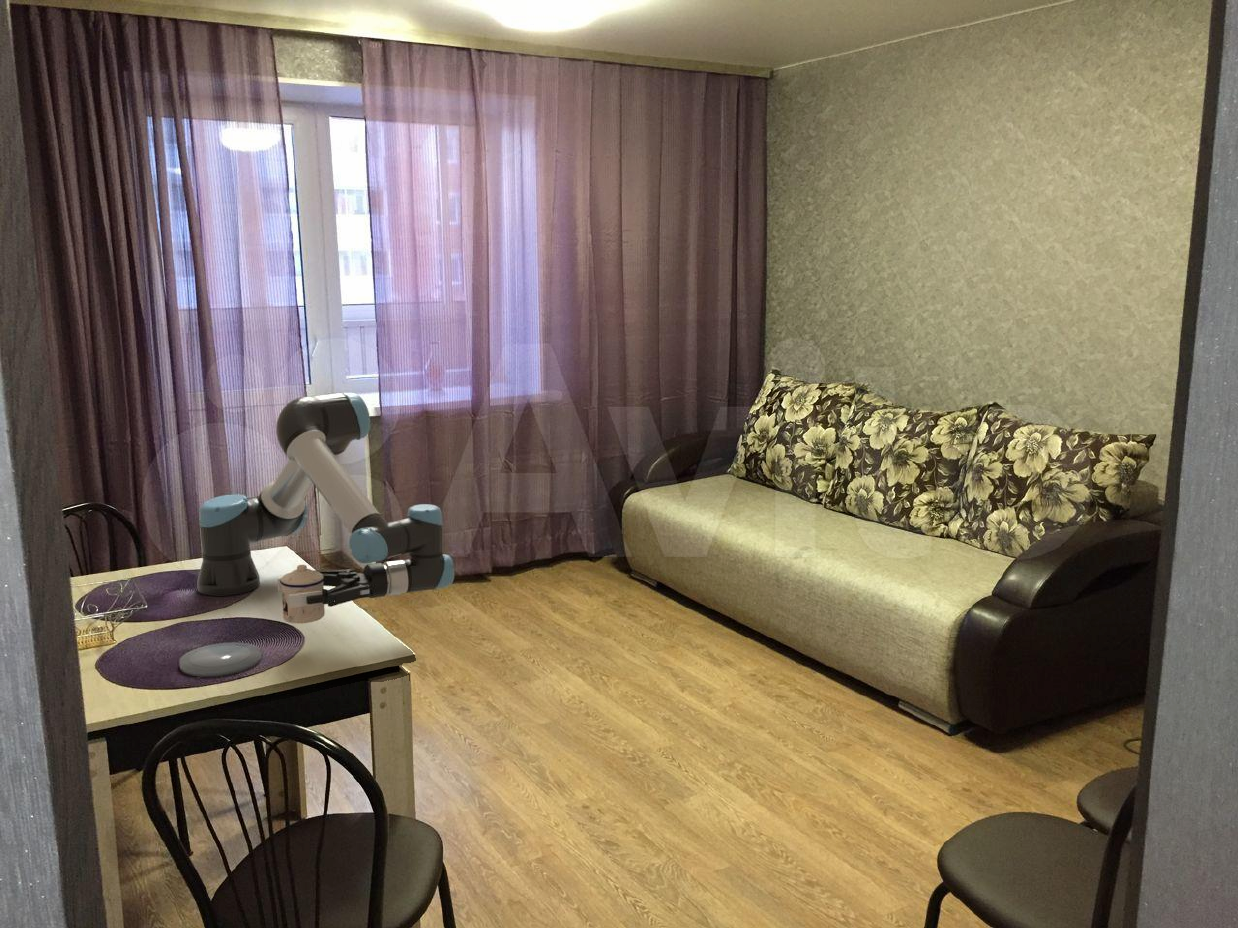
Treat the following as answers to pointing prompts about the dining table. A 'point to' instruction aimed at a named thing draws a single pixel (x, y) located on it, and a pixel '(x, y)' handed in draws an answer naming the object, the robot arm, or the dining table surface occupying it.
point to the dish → (220, 659)
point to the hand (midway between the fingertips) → (283, 592)
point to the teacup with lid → (302, 583)
